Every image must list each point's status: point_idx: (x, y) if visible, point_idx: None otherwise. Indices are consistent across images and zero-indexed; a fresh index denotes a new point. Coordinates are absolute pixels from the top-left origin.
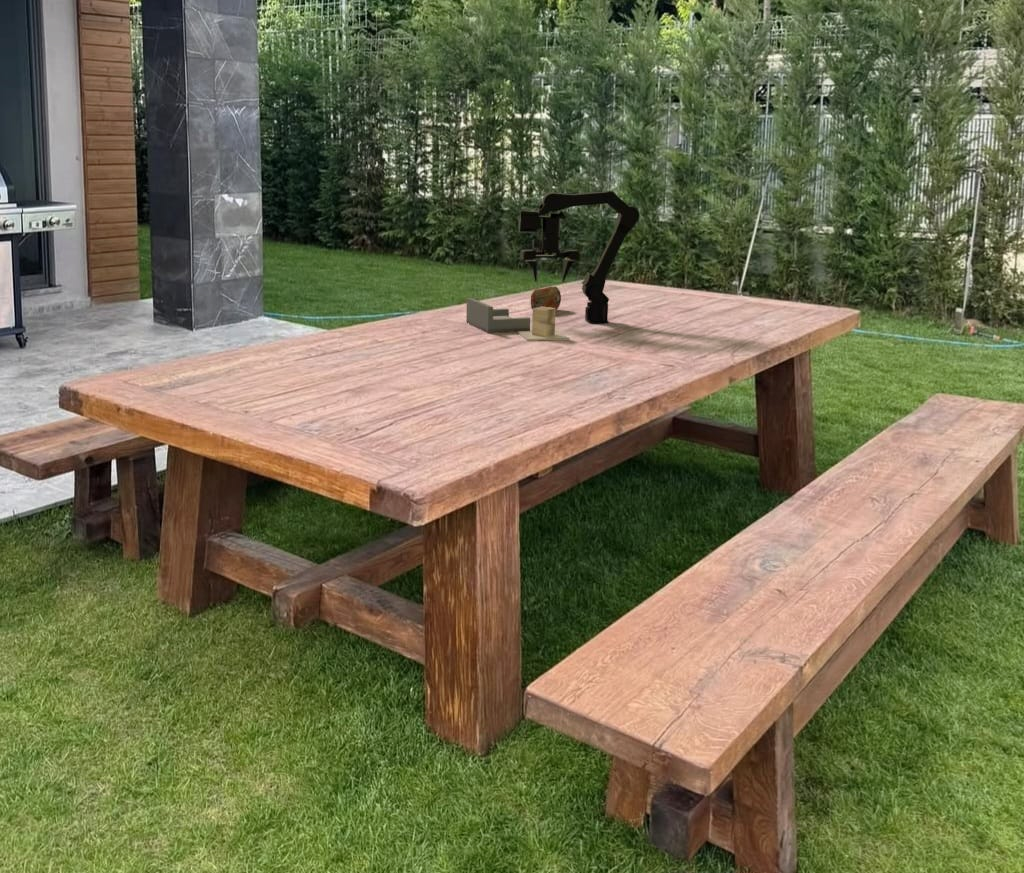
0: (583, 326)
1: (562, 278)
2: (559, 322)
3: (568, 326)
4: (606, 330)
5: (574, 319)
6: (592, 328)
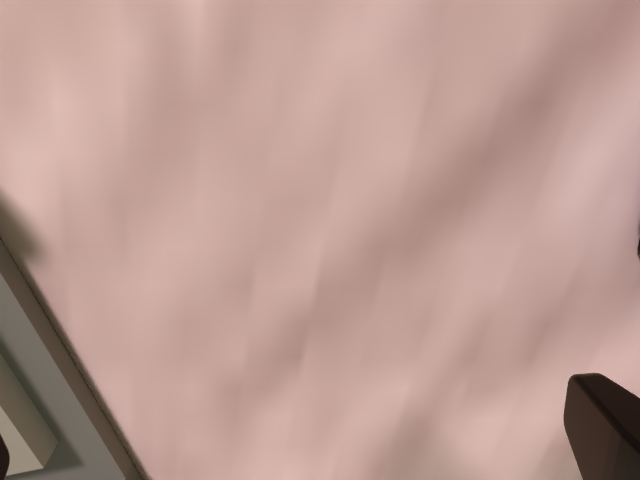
0: (534, 354)
1: (594, 446)
2: (396, 197)
3: (424, 353)
4: None
5: (585, 37)
6: None
